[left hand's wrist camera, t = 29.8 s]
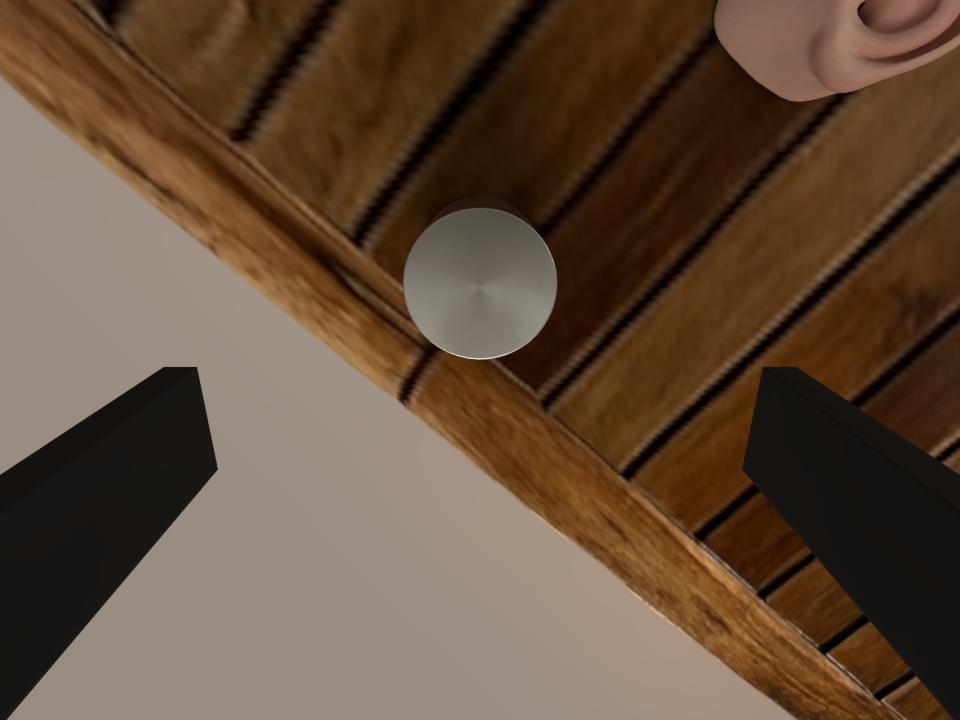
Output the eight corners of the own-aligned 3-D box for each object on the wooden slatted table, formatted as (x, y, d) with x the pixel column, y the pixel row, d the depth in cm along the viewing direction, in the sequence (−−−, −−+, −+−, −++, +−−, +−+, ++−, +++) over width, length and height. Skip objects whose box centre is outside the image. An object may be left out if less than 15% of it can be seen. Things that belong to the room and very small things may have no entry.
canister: (517, 177, 32) (530, 183, 24) (552, 290, 34) (575, 332, 26) (404, 219, 33) (378, 240, 25) (446, 326, 35) (436, 378, 27)
